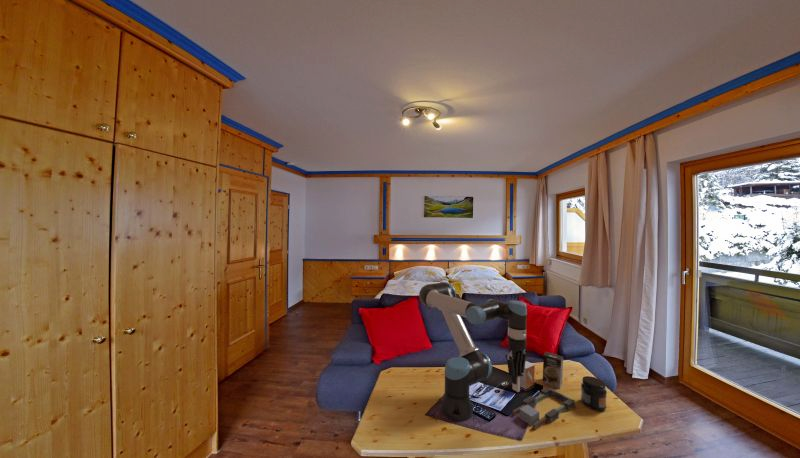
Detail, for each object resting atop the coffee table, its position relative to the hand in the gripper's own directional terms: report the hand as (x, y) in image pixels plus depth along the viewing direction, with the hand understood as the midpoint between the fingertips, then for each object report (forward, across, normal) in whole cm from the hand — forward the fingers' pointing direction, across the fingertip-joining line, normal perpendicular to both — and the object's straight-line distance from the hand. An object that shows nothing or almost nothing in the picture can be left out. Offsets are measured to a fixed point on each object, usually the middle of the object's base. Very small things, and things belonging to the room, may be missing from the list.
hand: (516, 390), depth 122 cm
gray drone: (+17, +22, 0) cm, 28 cm away
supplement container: (+17, +48, -11) cm, 52 cm away
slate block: (+17, +10, 0) cm, 20 cm away
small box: (+17, +32, +16) cm, 40 cm away
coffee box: (+17, +49, +10) cm, 53 cm away
